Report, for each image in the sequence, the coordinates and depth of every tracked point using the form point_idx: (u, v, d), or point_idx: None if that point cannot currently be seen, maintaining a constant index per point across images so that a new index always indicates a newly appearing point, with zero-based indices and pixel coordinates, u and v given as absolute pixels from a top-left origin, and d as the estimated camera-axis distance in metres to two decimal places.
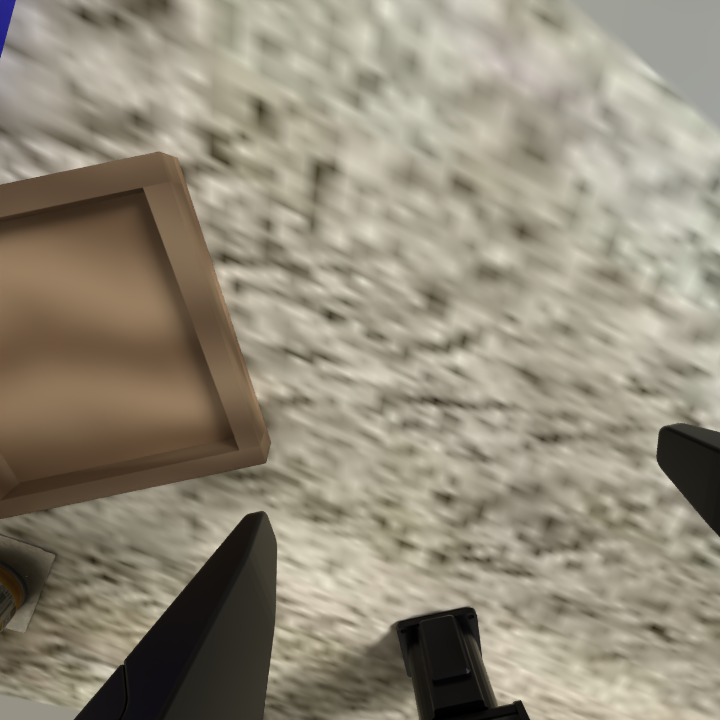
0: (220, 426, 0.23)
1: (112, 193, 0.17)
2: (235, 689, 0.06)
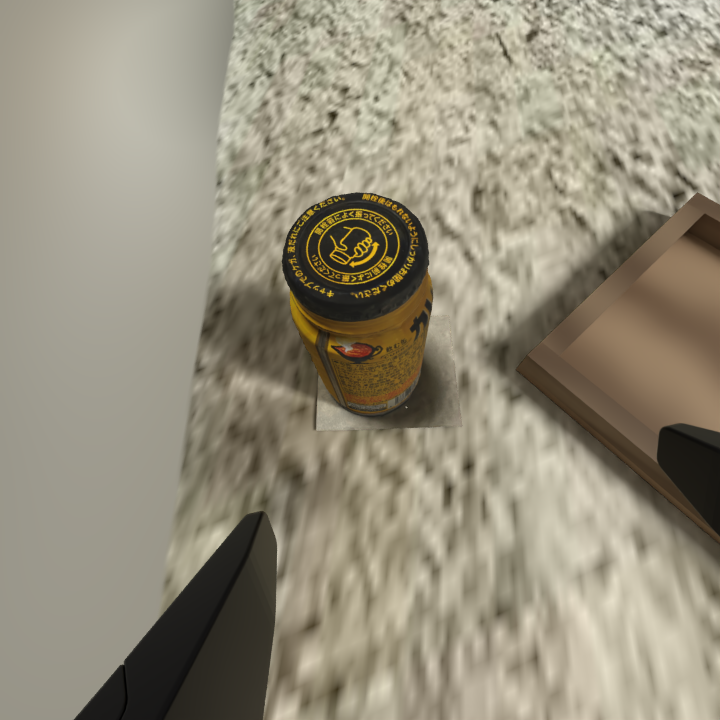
0: None
1: None
2: (235, 689, 0.06)
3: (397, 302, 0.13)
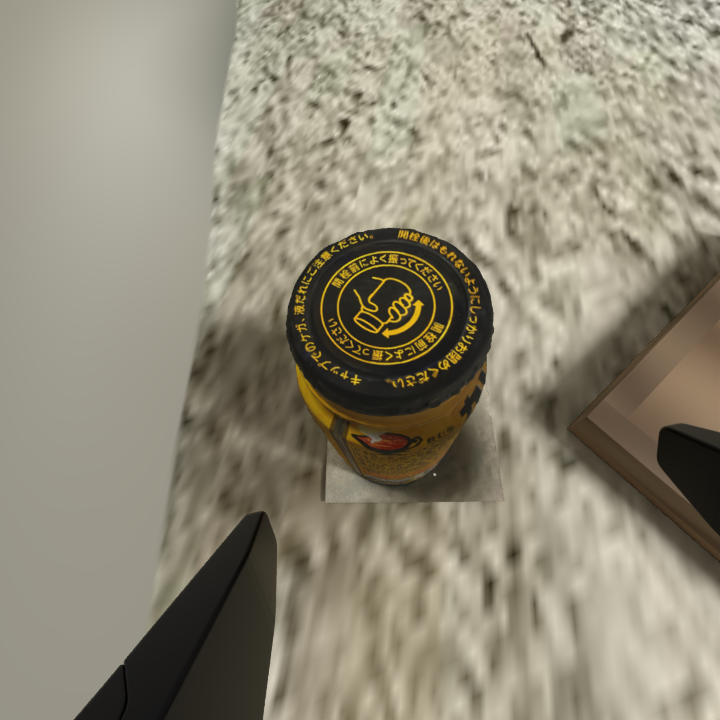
0: None
1: None
2: (235, 689, 0.06)
3: (452, 391, 0.09)
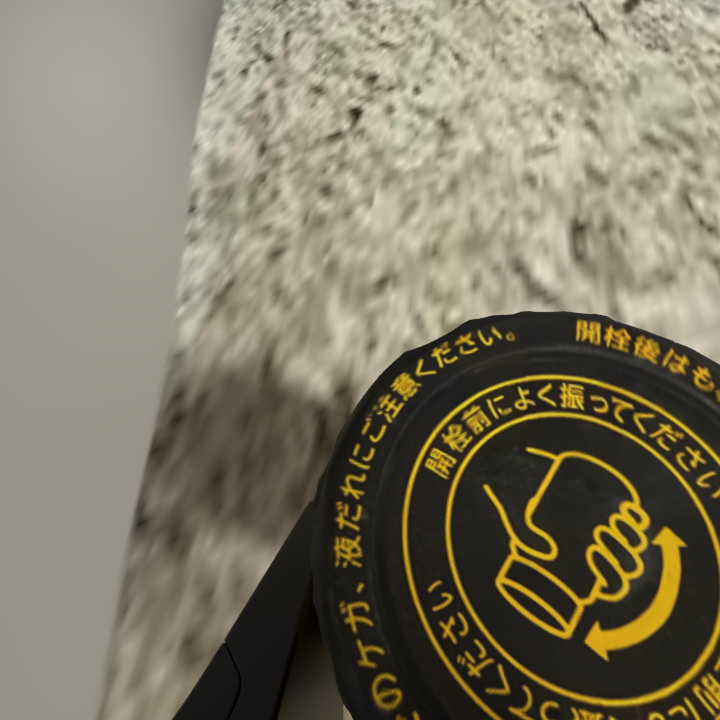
0: None
1: None
2: (325, 670, 0.06)
3: None
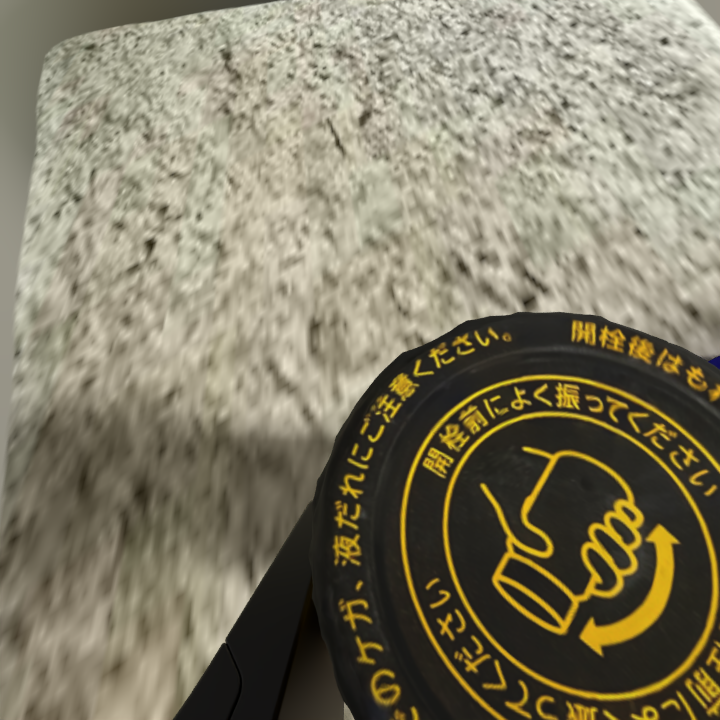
0: None
1: None
2: (325, 670, 0.06)
3: None
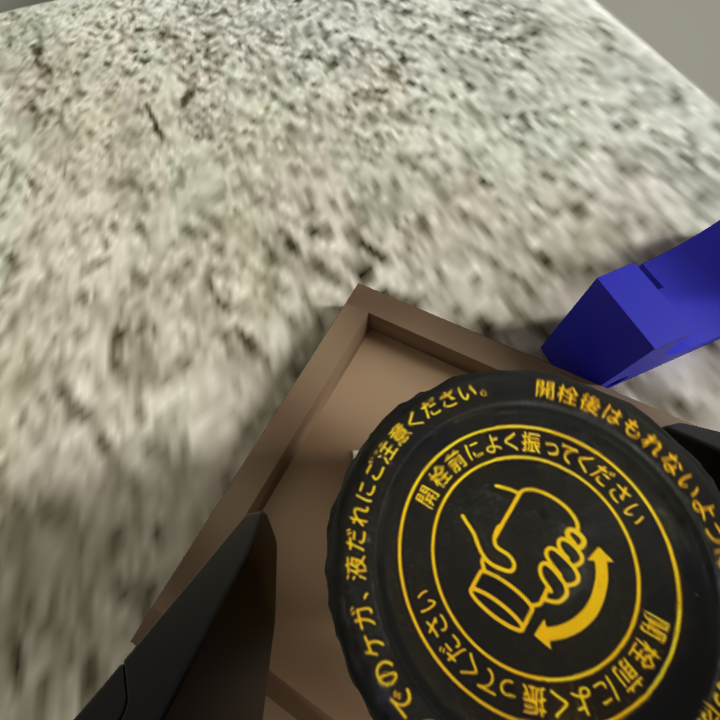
0: None
1: None
2: (235, 689, 0.06)
3: None
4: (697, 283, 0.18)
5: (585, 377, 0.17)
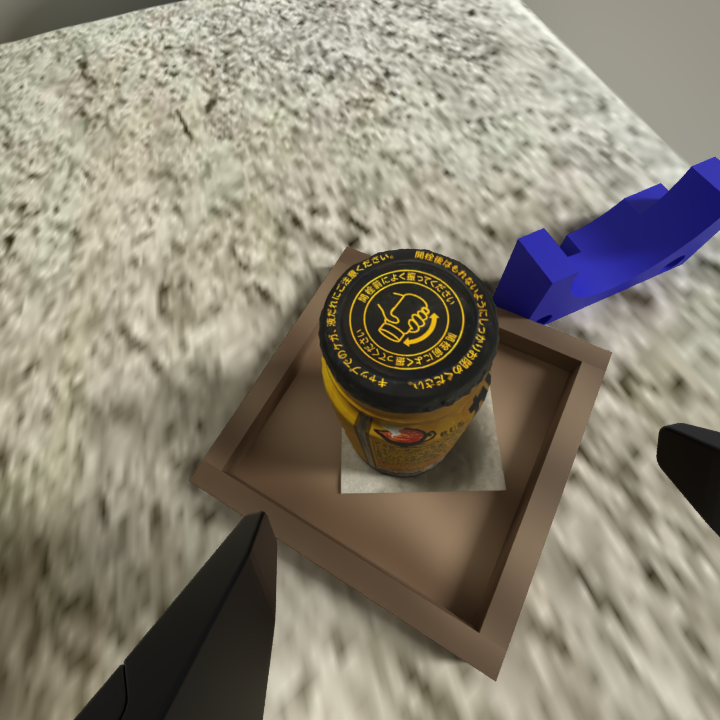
0: (456, 589, 0.19)
1: (555, 351, 0.21)
2: (235, 689, 0.06)
3: (464, 392, 0.10)
4: (605, 248, 0.24)
5: (520, 315, 0.23)
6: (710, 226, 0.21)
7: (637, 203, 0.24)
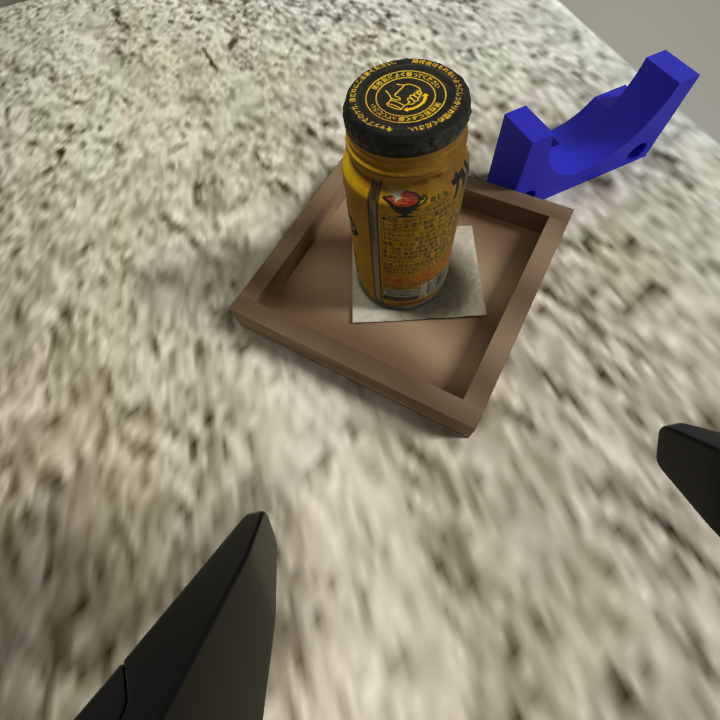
0: (445, 385, 0.23)
1: (528, 210, 0.26)
2: (235, 689, 0.06)
3: (446, 138, 0.15)
4: (579, 140, 0.29)
5: None
6: (663, 107, 0.26)
7: (605, 100, 0.28)
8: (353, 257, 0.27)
